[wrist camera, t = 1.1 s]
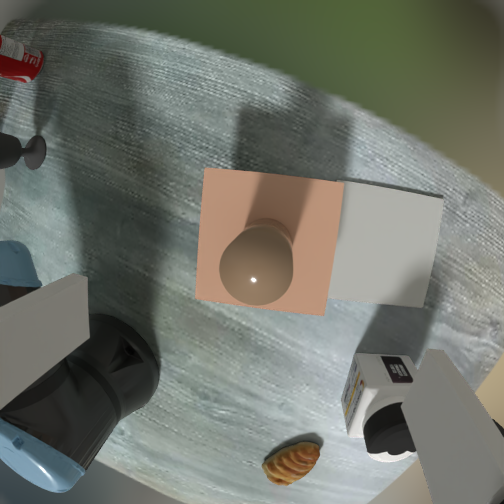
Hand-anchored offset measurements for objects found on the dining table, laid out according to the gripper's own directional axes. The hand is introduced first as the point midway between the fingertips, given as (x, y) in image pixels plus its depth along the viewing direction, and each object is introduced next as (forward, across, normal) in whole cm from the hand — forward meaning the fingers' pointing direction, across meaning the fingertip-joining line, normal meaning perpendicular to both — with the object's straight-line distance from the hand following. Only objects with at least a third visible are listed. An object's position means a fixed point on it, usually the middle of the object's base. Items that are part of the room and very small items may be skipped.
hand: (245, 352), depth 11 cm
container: (+25, -16, +16) cm, 33 cm away
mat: (+25, -12, -1) cm, 27 cm away
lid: (+18, +1, 0) cm, 18 cm away
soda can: (+24, +41, -20) cm, 51 cm away
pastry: (+25, -8, +33) cm, 42 cm away
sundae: (+24, +36, -6) cm, 43 cm away
